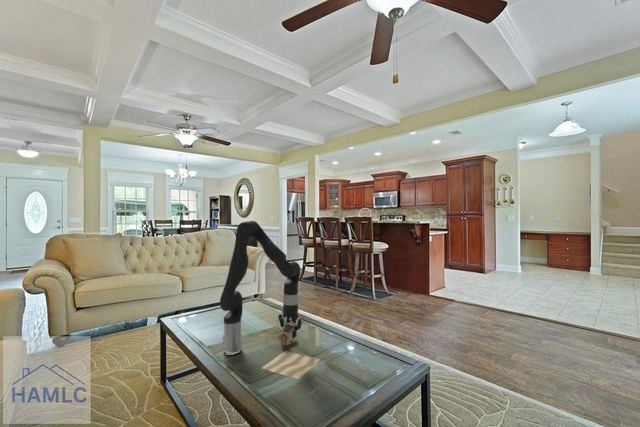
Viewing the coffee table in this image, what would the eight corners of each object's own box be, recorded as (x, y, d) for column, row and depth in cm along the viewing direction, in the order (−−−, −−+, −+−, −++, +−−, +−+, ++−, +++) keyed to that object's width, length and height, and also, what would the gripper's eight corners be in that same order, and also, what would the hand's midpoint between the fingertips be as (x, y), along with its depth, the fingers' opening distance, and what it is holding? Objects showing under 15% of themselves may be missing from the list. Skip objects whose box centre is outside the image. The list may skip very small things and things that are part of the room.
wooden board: (261, 369, 141) (261, 368, 141) (285, 351, 158) (285, 350, 158) (298, 380, 130) (298, 379, 130) (320, 360, 148) (320, 359, 148)
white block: (289, 339, 147) (282, 331, 141) (292, 331, 149) (285, 323, 144) (296, 340, 145) (289, 332, 139) (299, 333, 147) (292, 324, 142)
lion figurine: (284, 350, 160) (283, 334, 160) (276, 348, 162) (275, 332, 162) (298, 340, 173) (297, 325, 173) (291, 338, 175) (290, 323, 175)
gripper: (274, 302, 144) (274, 336, 144) (298, 306, 137) (298, 342, 137) (283, 298, 150) (282, 331, 150) (306, 302, 144) (306, 337, 144)
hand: (290, 336), depth 144 cm, fingers closed on white block, 4 cm apart
